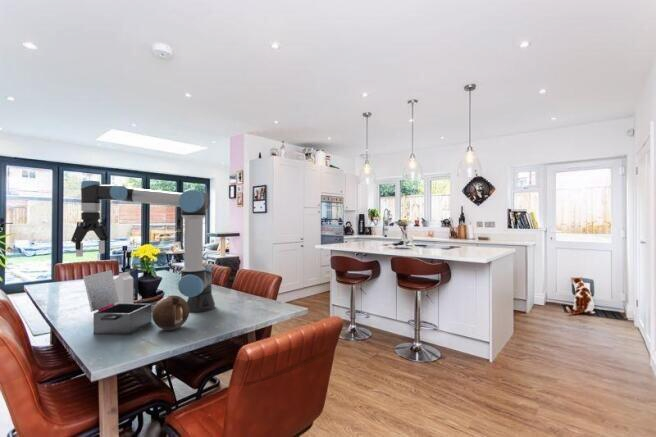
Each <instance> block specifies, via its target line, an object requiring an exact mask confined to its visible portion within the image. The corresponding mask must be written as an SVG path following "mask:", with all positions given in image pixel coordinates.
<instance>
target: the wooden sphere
mask: <svg viewBox="0 0 656 437" xmlns="http://www.w3.org/2000/svg"><path fill="white" fill-rule="evenodd" d="M189 316H190V312H189V306H188V304H187V301H186V300H185V299H184V298H183V297H181V296H179V295H168V296H164V297H162V298H161V299H159V300H158V301H157V303H155V306H153V309H152V313H151V317H152V320H153V323H154V324H155V325H156V326H157V327H158V328H159V329H161V330H165V331H172V330H176V329H179V328H180V327H181V326H183V325H184V324H185V323H186V321H187V320H188V318H189Z"/></svg>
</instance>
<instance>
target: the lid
mask: <svg viewBox="0 0 656 437" xmlns="http://www.w3.org/2000/svg"><path fill="white" fill-rule="evenodd" d="M114 279H115V278H114V274H113V270H112V269H110V270H106V271H103V272H97V273H93V274H89V275H84V276H83V282H84V286H85V287H84V288H85V290H86V294H87V300H88V305H89V308H90V312H91V313H92V312H96V311H98V309H101V308H103V307H106V306H109V305H111V304H113V305H114V303H116V302H119V300H118V296H117V291H116V287H115V282H114Z"/></svg>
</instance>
